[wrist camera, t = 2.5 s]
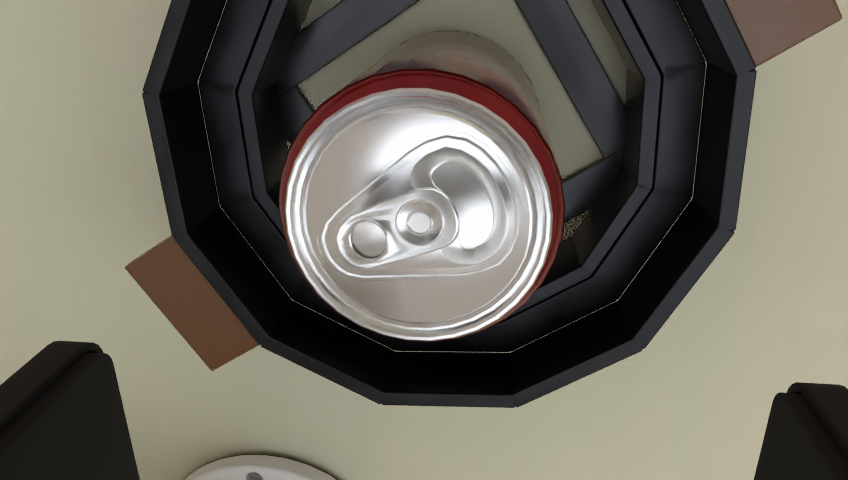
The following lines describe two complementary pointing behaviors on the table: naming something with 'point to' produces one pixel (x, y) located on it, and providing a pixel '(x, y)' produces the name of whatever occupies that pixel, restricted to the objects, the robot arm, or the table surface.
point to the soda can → (426, 192)
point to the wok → (588, 189)
